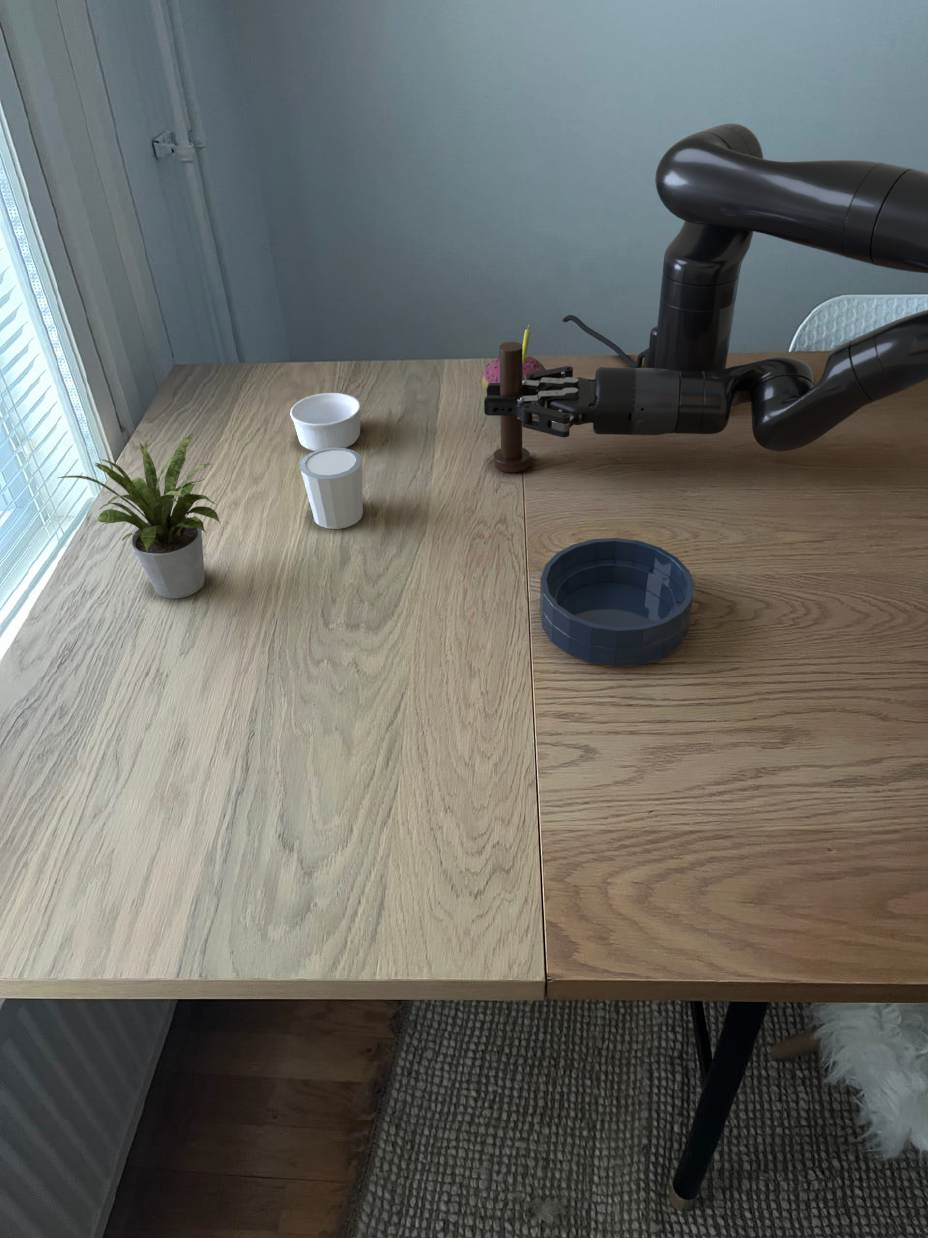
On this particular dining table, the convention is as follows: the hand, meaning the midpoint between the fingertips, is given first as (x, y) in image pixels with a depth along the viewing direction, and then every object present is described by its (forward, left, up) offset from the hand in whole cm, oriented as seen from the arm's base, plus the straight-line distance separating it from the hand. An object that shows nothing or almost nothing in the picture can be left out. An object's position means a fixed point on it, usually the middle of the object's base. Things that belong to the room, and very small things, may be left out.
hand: (486, 398), depth 111 cm
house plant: (-3, -41, -9) cm, 42 cm away
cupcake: (-9, +12, -9) cm, 17 cm away
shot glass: (-3, -20, -9) cm, 22 cm away
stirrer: (+2, +2, -8) cm, 9 cm away
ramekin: (-19, -11, -9) cm, 24 cm away
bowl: (+31, -10, -9) cm, 34 cm away
